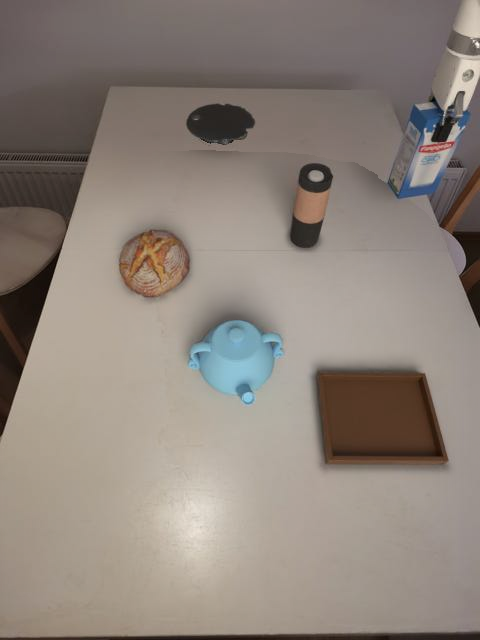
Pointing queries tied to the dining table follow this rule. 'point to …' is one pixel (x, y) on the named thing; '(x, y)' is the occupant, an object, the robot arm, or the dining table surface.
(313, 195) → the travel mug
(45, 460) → the dining table surface
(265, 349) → the teapot
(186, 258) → the bread
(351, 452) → the tray
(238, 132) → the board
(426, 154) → the milk carton
